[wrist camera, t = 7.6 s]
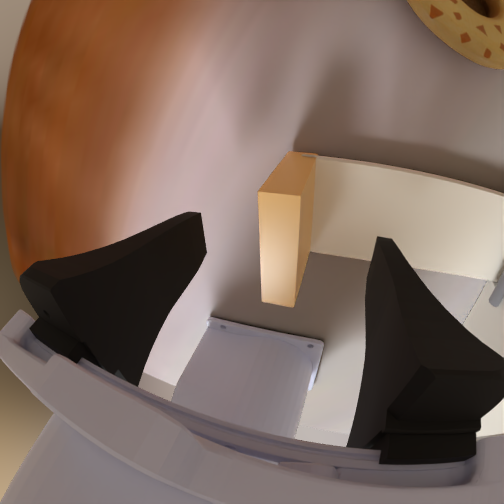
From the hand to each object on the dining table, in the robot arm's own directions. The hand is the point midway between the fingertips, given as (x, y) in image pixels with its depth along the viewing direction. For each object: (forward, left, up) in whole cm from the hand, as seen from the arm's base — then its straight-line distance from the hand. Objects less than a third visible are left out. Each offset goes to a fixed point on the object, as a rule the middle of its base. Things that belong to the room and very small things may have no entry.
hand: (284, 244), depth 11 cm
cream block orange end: (+7, 0, -4) cm, 8 cm away
